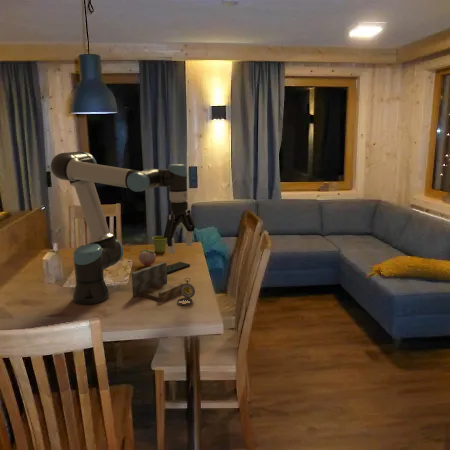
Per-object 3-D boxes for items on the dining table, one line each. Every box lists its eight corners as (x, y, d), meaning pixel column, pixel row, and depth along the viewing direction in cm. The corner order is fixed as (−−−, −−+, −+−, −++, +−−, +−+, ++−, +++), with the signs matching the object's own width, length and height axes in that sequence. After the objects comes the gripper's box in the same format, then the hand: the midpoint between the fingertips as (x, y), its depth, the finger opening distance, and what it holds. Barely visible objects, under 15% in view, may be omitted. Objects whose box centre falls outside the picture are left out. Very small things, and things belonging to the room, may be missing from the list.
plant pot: (162, 248, 263) (162, 235, 261) (170, 251, 256) (170, 237, 254) (149, 251, 257) (149, 237, 256) (157, 254, 250) (157, 240, 249)
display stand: (157, 304, 177) (156, 279, 175) (132, 296, 186) (131, 272, 183) (187, 290, 193) (187, 267, 191) (164, 283, 201) (163, 261, 199)
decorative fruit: (158, 263, 232) (157, 246, 230) (154, 268, 224) (153, 250, 222) (141, 263, 233) (141, 246, 231) (137, 268, 225) (136, 250, 223)
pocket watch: (178, 306, 174) (177, 284, 172) (175, 299, 182) (174, 277, 180) (197, 304, 176) (197, 282, 174) (193, 297, 184) (193, 275, 182)
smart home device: (152, 270, 217) (180, 261, 232) (152, 273, 218) (180, 264, 233) (163, 273, 212) (190, 264, 227) (163, 276, 212) (190, 267, 227)
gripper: (168, 206, 164) (170, 257, 168) (201, 197, 185) (202, 243, 189) (153, 204, 167) (156, 255, 171) (187, 196, 188) (189, 241, 193)
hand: (180, 249), depth 180 cm, fingers open, 13 cm apart
